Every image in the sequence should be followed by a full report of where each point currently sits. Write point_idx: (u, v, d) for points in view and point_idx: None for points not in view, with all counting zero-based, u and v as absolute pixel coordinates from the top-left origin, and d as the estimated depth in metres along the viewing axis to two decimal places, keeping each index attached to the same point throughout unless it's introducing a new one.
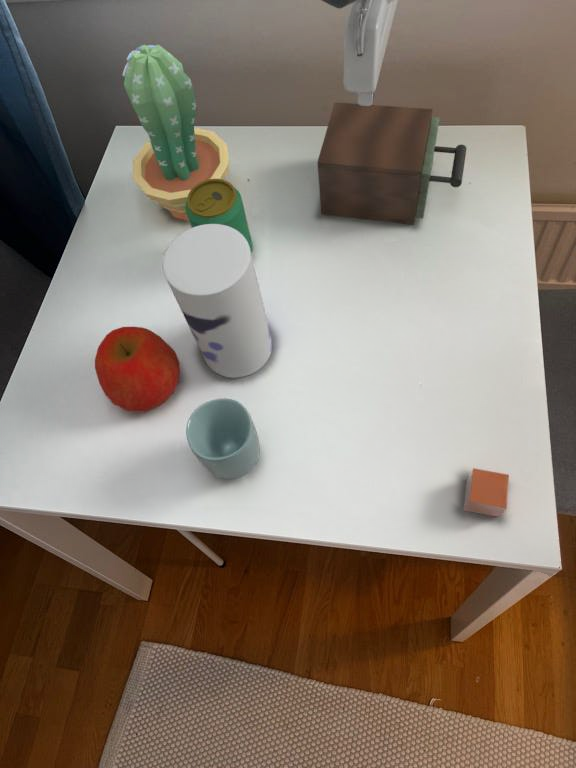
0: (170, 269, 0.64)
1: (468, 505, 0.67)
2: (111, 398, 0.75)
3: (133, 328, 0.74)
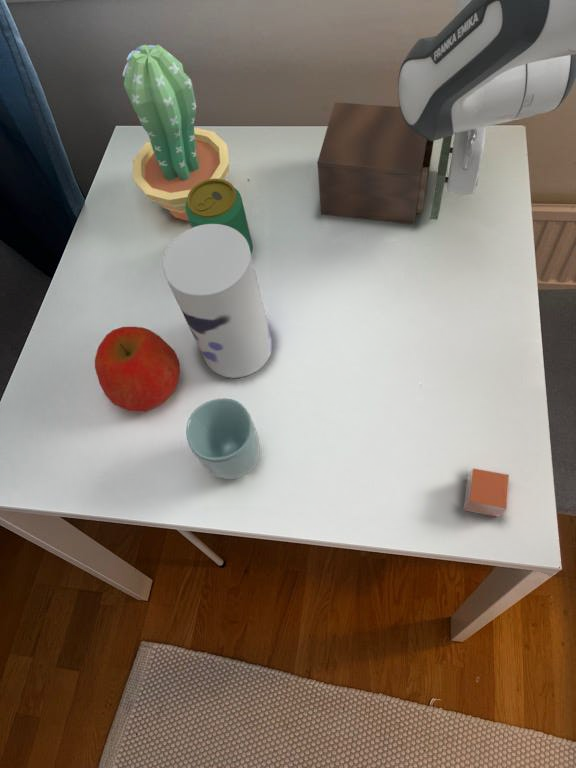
0: (170, 269, 0.64)
1: (468, 505, 0.67)
2: (111, 398, 0.75)
3: (133, 328, 0.74)
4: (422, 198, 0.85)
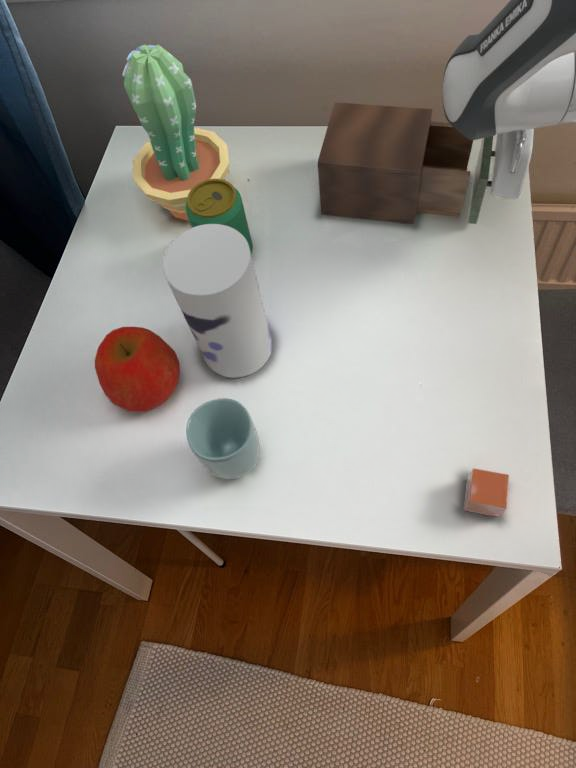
0: (170, 269, 0.64)
1: (468, 505, 0.67)
2: (111, 398, 0.75)
3: (133, 328, 0.74)
4: (462, 202, 0.84)
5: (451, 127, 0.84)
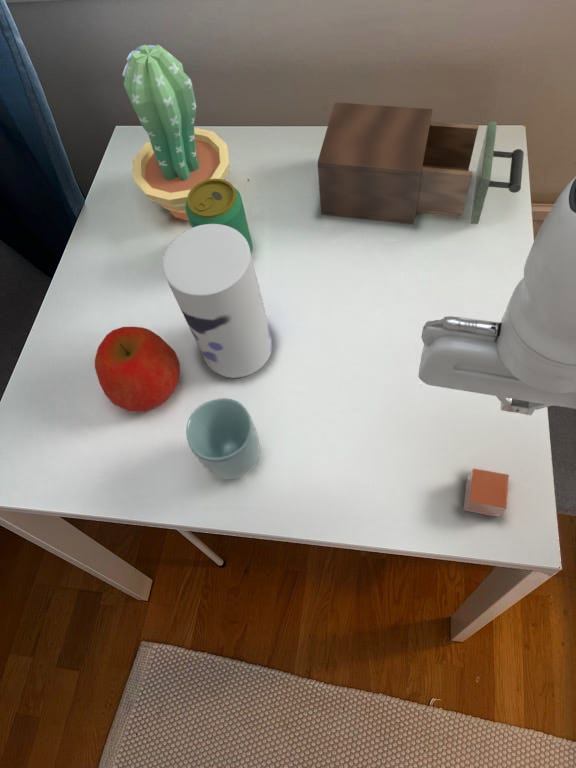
0: (170, 269, 0.64)
1: (468, 505, 0.67)
2: (111, 398, 0.75)
3: (133, 328, 0.74)
4: (463, 202, 0.84)
5: (453, 127, 0.84)
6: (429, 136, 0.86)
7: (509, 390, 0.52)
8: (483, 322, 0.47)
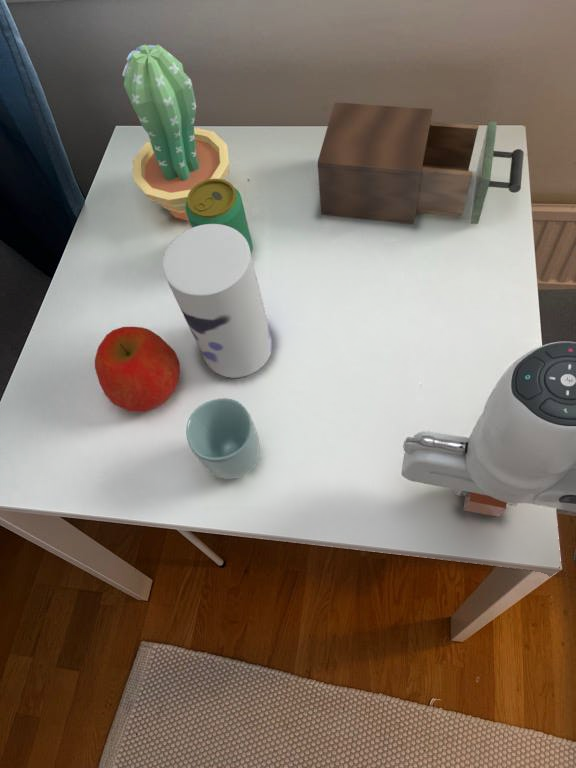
0: (170, 269, 0.64)
1: (468, 505, 0.67)
2: (111, 398, 0.75)
3: (133, 328, 0.74)
4: (463, 202, 0.84)
5: (453, 127, 0.84)
6: (429, 136, 0.86)
7: (477, 489, 0.62)
8: (453, 442, 0.57)
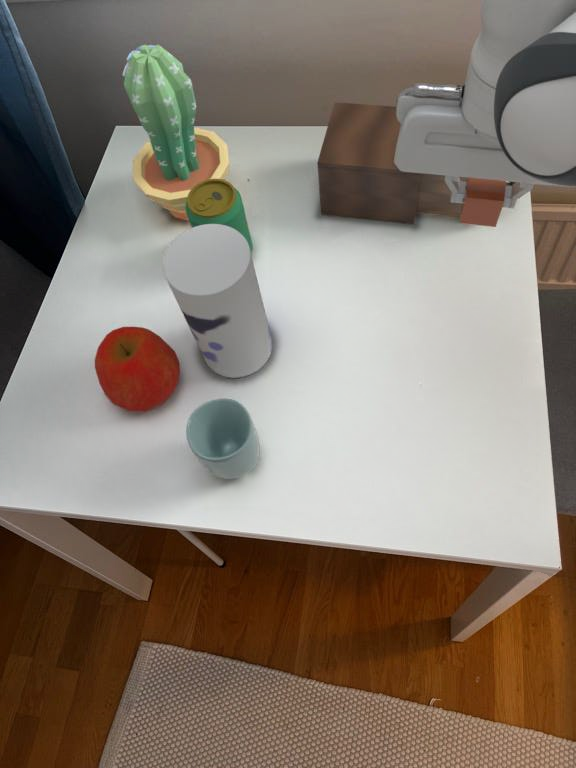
0: (170, 269, 0.64)
1: (464, 208, 0.63)
2: (111, 398, 0.75)
3: (133, 328, 0.74)
4: None
5: None
6: None
7: (474, 165, 0.58)
8: (449, 85, 0.53)
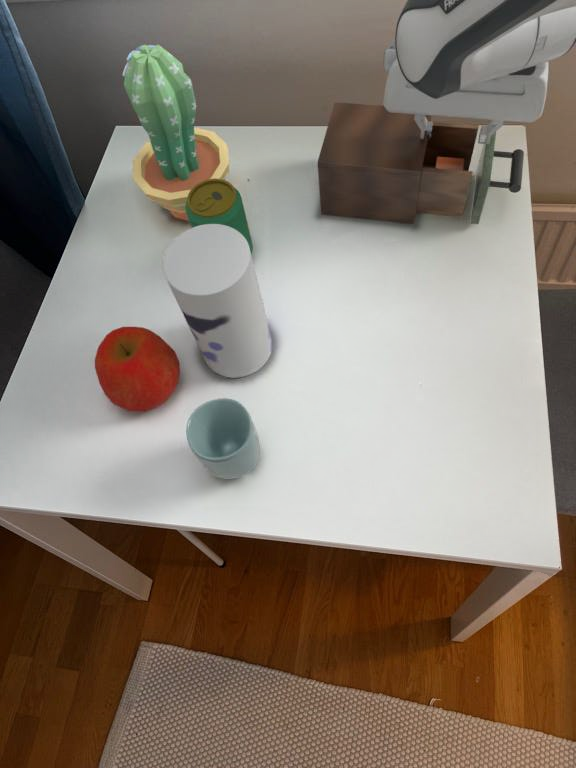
0: (170, 269, 0.64)
1: None
2: (111, 398, 0.75)
3: (133, 328, 0.74)
4: (464, 202, 0.84)
5: (453, 127, 0.84)
6: None
7: (445, 105, 0.75)
8: None
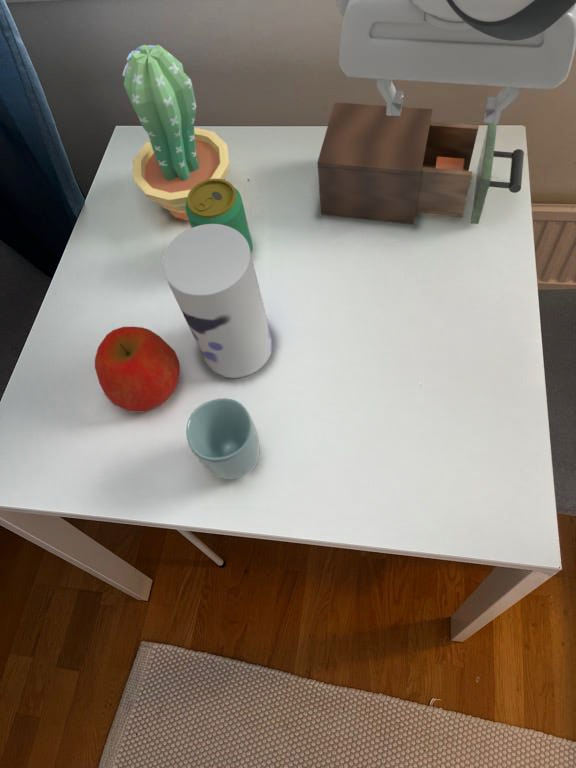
0: (170, 269, 0.64)
1: None
2: (111, 398, 0.75)
3: (133, 328, 0.74)
4: (464, 202, 0.84)
5: (453, 127, 0.84)
6: (429, 136, 0.86)
7: (427, 64, 0.52)
8: None
